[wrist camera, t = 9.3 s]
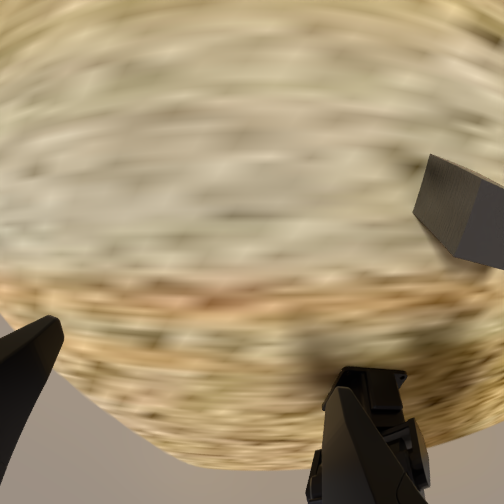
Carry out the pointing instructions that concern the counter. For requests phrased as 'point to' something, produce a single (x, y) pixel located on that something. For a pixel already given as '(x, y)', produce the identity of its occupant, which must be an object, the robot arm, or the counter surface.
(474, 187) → the grey hammer
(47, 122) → the counter surface
